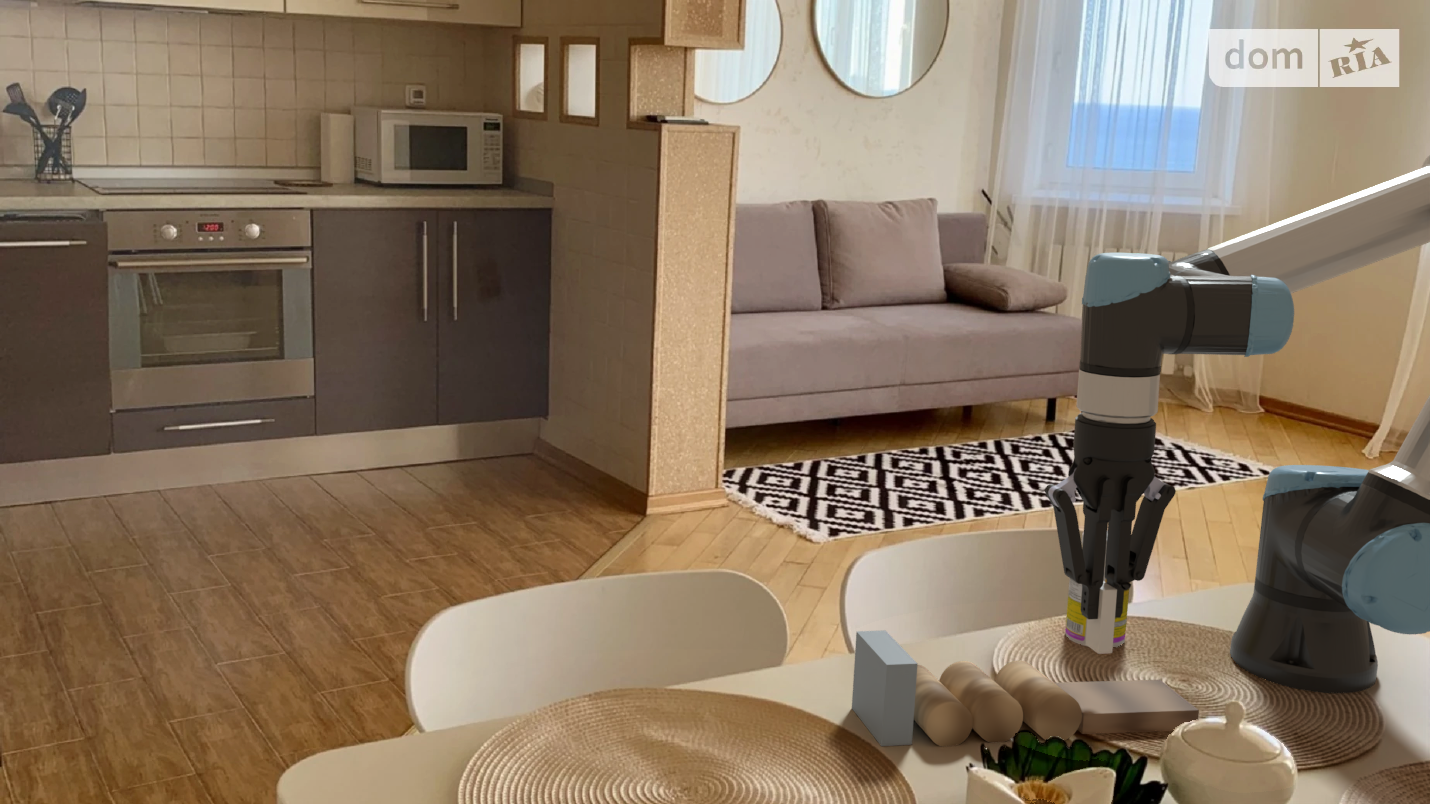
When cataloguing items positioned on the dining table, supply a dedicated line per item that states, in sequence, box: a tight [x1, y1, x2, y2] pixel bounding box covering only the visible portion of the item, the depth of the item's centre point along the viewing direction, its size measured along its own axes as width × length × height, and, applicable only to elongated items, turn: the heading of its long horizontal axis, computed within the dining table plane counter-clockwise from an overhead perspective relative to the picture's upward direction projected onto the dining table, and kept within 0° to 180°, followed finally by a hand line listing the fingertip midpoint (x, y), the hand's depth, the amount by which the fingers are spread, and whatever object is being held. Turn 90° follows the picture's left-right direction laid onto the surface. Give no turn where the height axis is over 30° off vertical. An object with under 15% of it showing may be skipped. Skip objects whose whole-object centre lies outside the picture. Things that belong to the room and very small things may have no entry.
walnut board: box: [1054, 679, 1200, 735], centre depth 141 cm, size 12×8×2 cm, turn 100°
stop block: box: [851, 629, 919, 747], centre depth 135 cm, size 3×9×8 cm, turn 12°
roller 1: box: [914, 664, 973, 748], centre depth 136 cm, size 10×4×4 cm
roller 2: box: [939, 660, 1024, 744], centre depth 137 cm, size 9×5×5 cm
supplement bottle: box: [1064, 530, 1131, 648], centre depth 160 cm, size 7×7×13 cm
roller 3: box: [994, 659, 1082, 741], centre depth 138 cm, size 9×5×5 cm, turn 15°
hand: (1098, 648), depth 139 cm, fingers closed
